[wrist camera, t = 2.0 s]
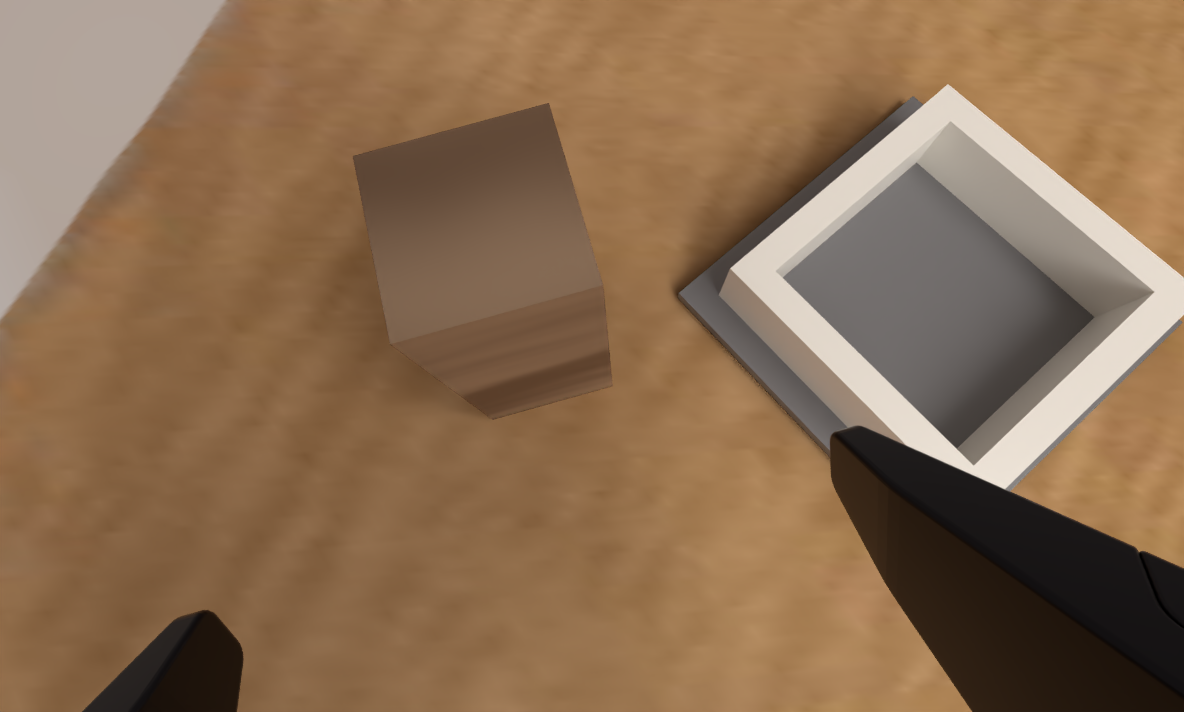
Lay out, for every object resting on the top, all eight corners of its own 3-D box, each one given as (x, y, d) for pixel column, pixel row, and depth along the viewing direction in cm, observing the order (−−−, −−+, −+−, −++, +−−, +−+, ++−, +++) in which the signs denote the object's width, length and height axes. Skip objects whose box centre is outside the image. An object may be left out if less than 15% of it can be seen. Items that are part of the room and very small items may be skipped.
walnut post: (612, 385, 22) (603, 285, 13) (492, 419, 22) (390, 344, 12) (580, 274, 23) (548, 102, 14) (466, 306, 23) (353, 155, 14)
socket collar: (1170, 326, 22) (1254, 297, 19) (929, 561, 20) (980, 569, 17) (907, 104, 24) (945, 48, 21) (677, 297, 23) (685, 265, 20)
